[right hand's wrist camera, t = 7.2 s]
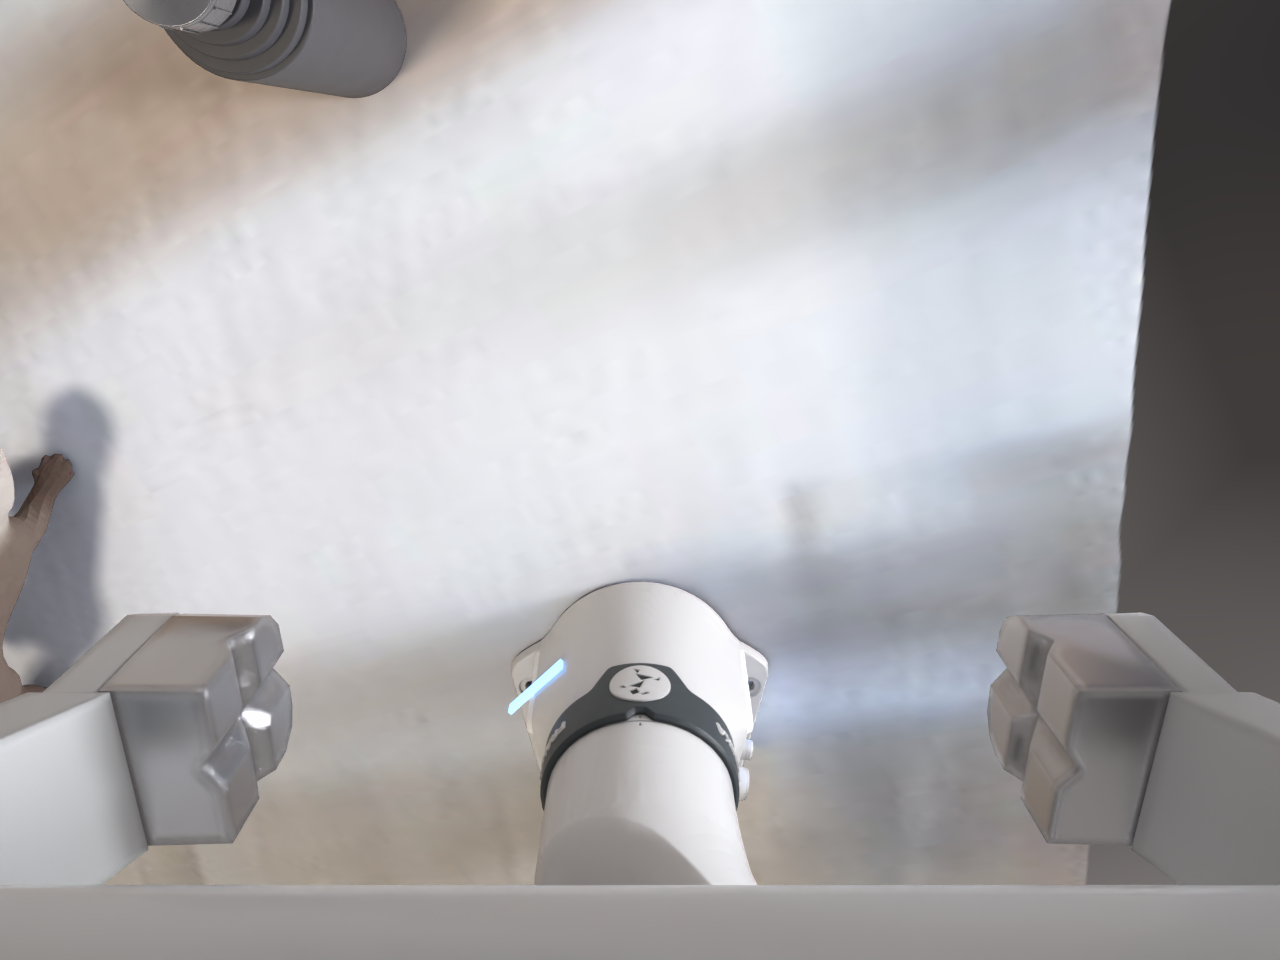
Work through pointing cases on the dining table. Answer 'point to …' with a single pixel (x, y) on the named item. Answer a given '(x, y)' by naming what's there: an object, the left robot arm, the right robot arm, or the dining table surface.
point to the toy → (23, 545)
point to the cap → (184, 13)
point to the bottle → (304, 45)
